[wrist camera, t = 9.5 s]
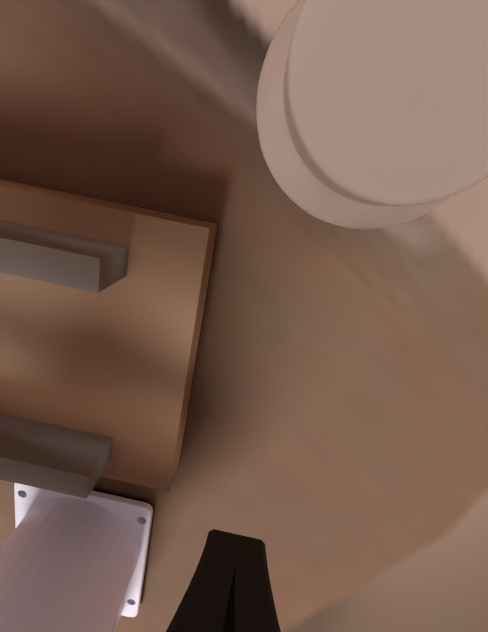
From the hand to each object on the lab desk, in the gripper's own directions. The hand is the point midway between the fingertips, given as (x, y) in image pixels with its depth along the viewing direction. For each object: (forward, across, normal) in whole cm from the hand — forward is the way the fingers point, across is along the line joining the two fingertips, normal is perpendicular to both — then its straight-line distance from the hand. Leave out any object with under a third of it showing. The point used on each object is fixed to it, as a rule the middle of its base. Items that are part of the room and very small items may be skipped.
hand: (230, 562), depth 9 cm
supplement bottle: (+10, -1, -11) cm, 15 cm away
